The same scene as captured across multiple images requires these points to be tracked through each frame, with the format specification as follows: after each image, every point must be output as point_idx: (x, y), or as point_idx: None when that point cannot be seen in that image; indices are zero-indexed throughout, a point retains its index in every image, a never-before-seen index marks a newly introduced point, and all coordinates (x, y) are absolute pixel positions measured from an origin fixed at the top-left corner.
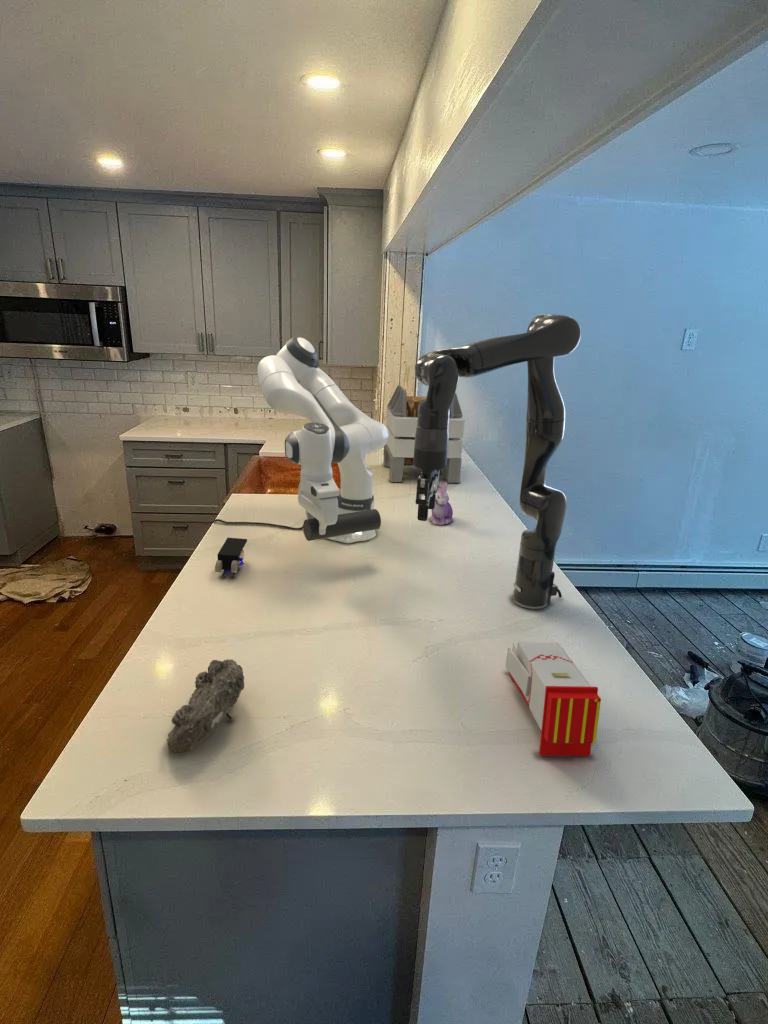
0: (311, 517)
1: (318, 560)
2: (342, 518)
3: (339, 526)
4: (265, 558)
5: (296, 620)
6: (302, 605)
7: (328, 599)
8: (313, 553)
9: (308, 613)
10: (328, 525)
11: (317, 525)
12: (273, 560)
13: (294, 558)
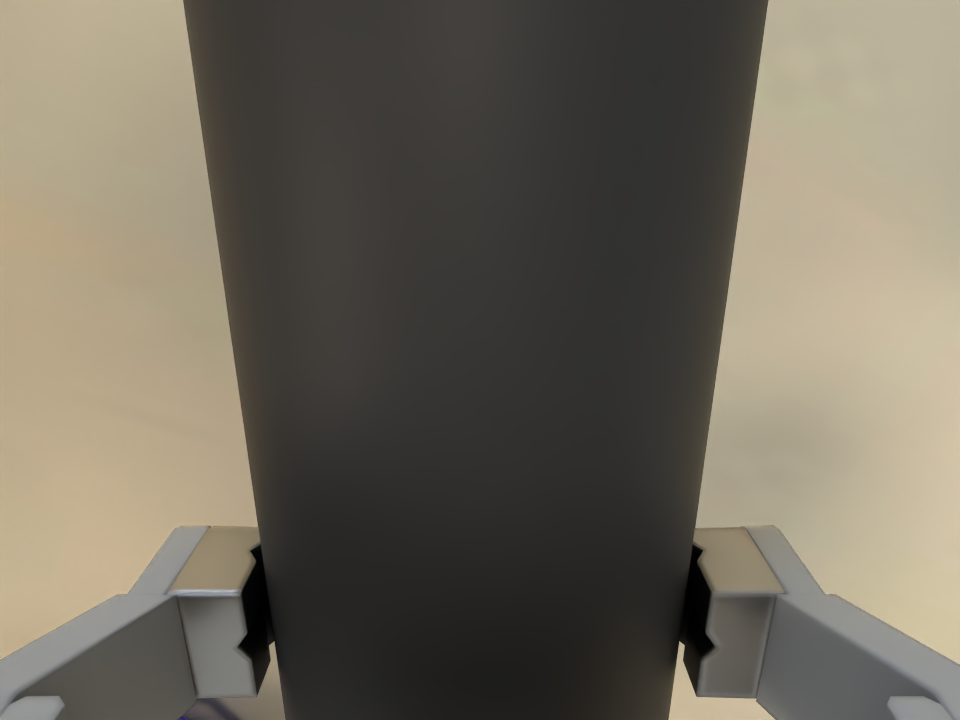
0: (150, 662)
1: (181, 159)
2: (681, 21)
3: (741, 190)
4: (41, 525)
5: (956, 612)
6: (826, 532)
7: (860, 362)
8: (10, 140)
9: (934, 534)
10: (696, 478)
11: (654, 706)
12: (91, 488)
13: (88, 336)
